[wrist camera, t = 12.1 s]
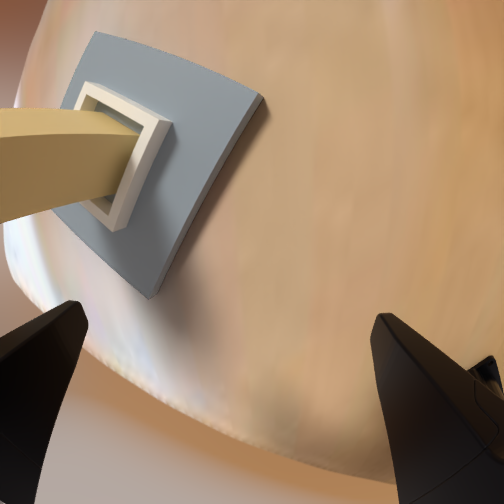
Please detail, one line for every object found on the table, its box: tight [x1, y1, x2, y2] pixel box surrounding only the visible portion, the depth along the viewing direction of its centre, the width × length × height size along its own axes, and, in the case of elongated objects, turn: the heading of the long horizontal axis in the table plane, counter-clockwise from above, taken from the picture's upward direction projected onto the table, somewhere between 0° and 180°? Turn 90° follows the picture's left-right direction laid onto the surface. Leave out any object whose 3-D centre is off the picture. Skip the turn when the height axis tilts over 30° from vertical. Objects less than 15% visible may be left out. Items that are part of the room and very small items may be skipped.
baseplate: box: [51, 31, 264, 299], centre depth 18 cm, size 16×16×3 cm
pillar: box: [0, 108, 140, 224], centre depth 12 cm, size 4×4×13 cm
